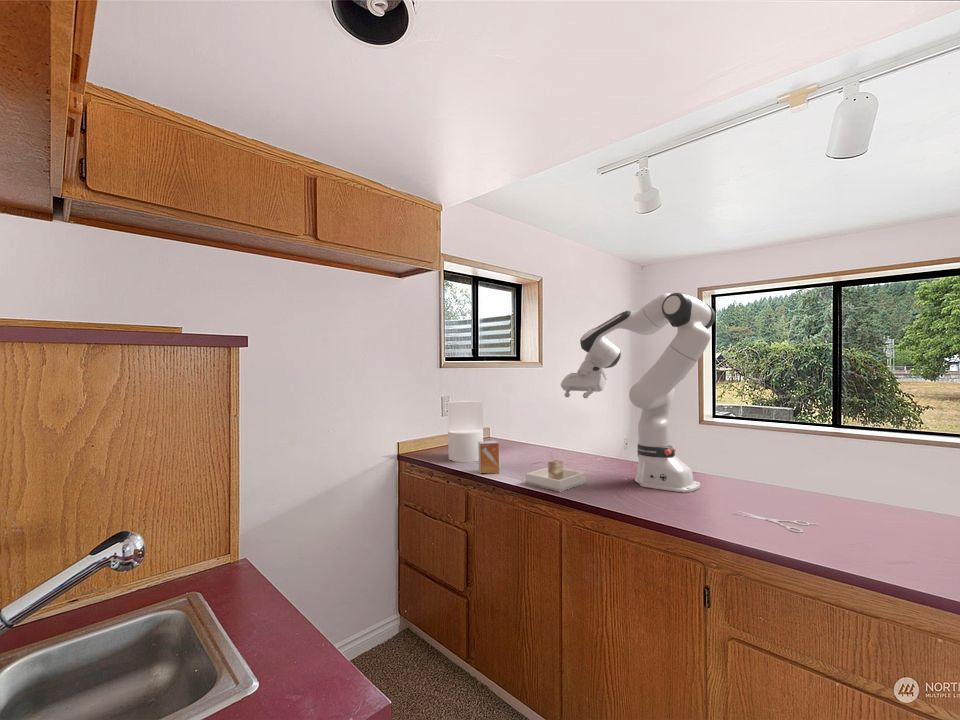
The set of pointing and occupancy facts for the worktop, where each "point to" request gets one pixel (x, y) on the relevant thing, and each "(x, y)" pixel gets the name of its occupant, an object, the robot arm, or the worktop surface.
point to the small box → (488, 456)
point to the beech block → (555, 469)
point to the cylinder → (464, 429)
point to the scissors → (782, 521)
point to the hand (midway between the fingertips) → (575, 396)
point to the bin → (542, 480)
